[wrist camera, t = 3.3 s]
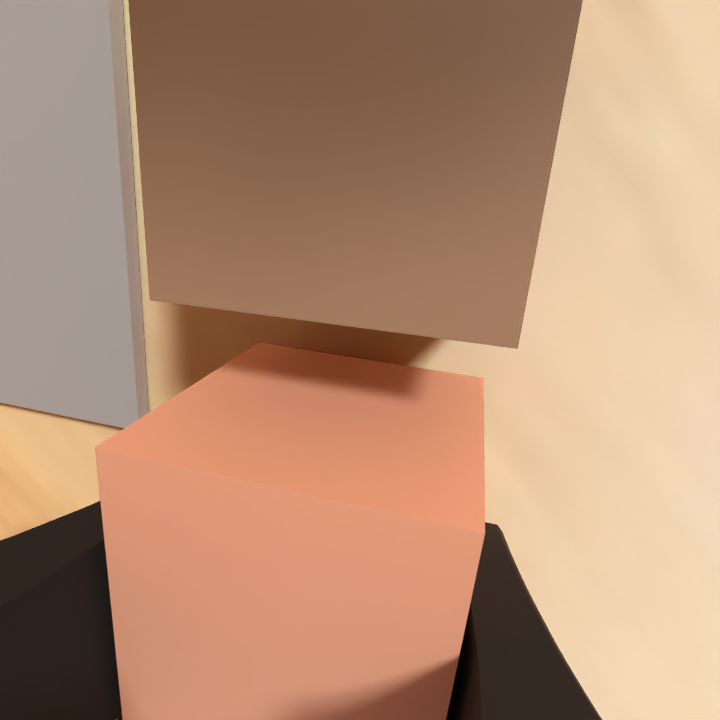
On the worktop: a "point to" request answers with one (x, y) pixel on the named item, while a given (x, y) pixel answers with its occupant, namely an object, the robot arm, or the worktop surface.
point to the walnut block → (350, 157)
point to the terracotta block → (295, 540)
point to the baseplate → (68, 215)
